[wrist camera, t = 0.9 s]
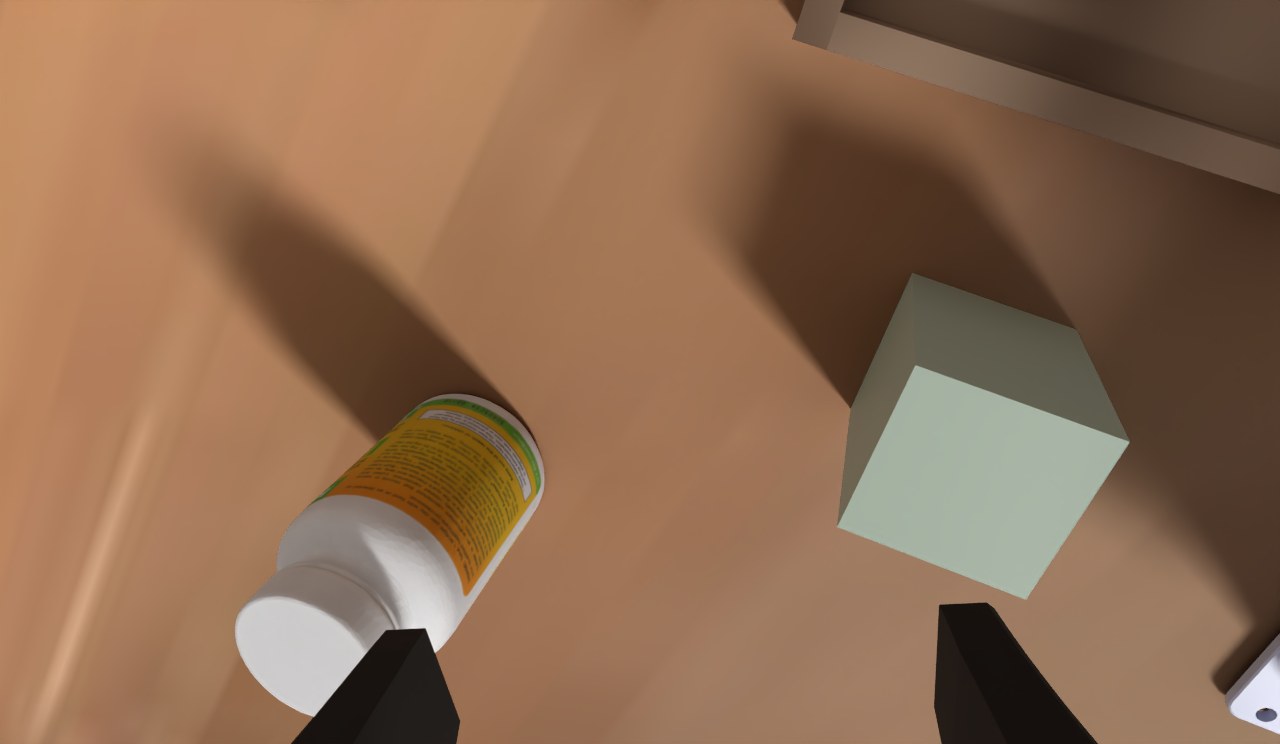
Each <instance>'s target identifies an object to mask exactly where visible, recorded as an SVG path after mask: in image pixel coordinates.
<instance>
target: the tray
mask: <svg viewBox="0 0 1280 744" xmlns="http://www.w3.org/2000/svg"><path fill="white" fill-rule="evenodd" d="M792 39H793V40H797V41H800V42H803V43H806V44H809V45H812V46H815V47H819V48H822V49H825V50H828V51H831V52H834V53H837V54H841V55H844V56H847V57H850V58H853V59H856V60H859V61H863V62H866V63H869V64H872V65H875V66H878V67H881V68H885V69H888V70H891V71H894V72H897V73H900V74H903V75H907V76H910V77H913V78H916V79H919V80H922V81H925V82H929V83H932V84H935V85H938V86H941V87H944V88H947V89H951V90H954V91H957V92H960V93H963V94H966V95H969V96H972V97H976V98H979V99H982V100H985V101H988V102H991V103H994V104H998V105H1001V106H1004V107H1007V108H1010V109H1013V110H1016V111H1020V112H1023V113H1026V114H1029V115H1032V116H1035V117H1038V118H1042V119H1045V120H1048V121H1051V122H1054V123H1057V124H1060V125H1064V126H1067V127H1070V128H1073V129H1076V130H1079V131H1082V132H1086V133H1089V134H1092V135H1095V136H1098V137H1101V138H1104V139H1108V140H1111V141H1114V142H1117V143H1120V144H1123V145H1126V146H1130V147H1133V148H1136V149H1139V150H1142V151H1145V152H1148V153H1152V154H1155V155H1158V156H1161V157H1164V158H1167V159H1170V160H1174V161H1177V162H1180V163H1183V164H1186V165H1189V166H1192V167H1195V168H1199V169H1202V170H1205V171H1208V172H1211V173H1214V174H1217V175H1221V176H1224V177H1227V178H1230V179H1233V180H1236V181H1239V182H1243V183H1246V184H1249V185H1252V186H1255V187H1258V188H1261V189H1265V190H1268V191H1271V192H1274V193H1277V194H1280V0H805V2H804V5H803V8H802V11H801V14H800V17H799V20H798V23H797V26H796V29H795V32H794V35H793V38H792Z"/></svg>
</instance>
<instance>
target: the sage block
mask: <svg viewBox="0 0 1280 744" xmlns="http://www.w3.org/2000/svg"><path fill="white" fill-rule="evenodd" d="M1129 443H1130V441H1129V439H1128V437H1127V435H1126V433H1125V430H1124V428H1123V426H1122V424H1121V422H1120V420H1119V418H1118V416H1117V414H1116V411H1115V409H1114V407H1113V405H1112V403H1111V401H1110V399H1109V397H1108V395H1107V393H1106V390H1105V388H1104V386H1103V384H1102V382H1101V380H1100V378H1099V376H1098V374H1097V372H1096V369H1095V367H1094V365H1093V363H1092V361H1091V359H1090V357H1089V355H1088V353H1087V351H1086V348H1085V346H1084V344H1083V342H1082V340H1081V338H1080V336H1079V334H1078V332H1077V330H1076V329H1074V328H1071V327H1068V326H1065V325H1062V324H1059V323H1056V322H1053V321H1050V320H1048V319H1045V318H1042V317H1039V316H1036V315H1033V314H1030V313H1027V312H1024V311H1021V310H1019V309H1016V308H1013V307H1010V306H1007V305H1004V304H1001V303H998V302H995V301H993V300H990V299H987V298H984V297H981V296H978V295H975V294H972V293H969V292H967V291H964V290H961V289H958V288H955V287H952V286H949V285H946V284H943V283H940V282H938V281H935V280H932V279H929V278H926V277H923V276H920V275H917V274H914V273H912V274H911V277H910V279H909V281H908V283H907V285H906V288H905V290H904V292H903V294H902V296H901V299H900V301H899V303H898V305H897V307H896V310H895V312H894V314H893V316H892V318H891V321H890V323H889V325H888V327H887V329H886V332H885V334H884V336H883V338H882V341H881V343H880V345H879V347H878V349H877V352H876V354H875V356H874V358H873V360H872V363H871V365H870V367H869V369H868V371H867V374H866V376H865V378H864V380H863V382H862V385H861V387H860V389H859V391H858V393H857V396H856V398H855V400H854V402H853V404H852V407H851V410H850V419H849V427H848V436H847V445H846V454H845V463H844V471H843V480H842V489H841V498H840V507H839V516H838V524H837V527H839V528H841V529H844V530H846V531H849V532H852V533H854V534H857V535H859V536H862V537H865V538H867V539H870V540H872V541H875V542H877V543H880V544H883V545H885V546H888V547H890V548H893V549H896V550H898V551H901V552H903V553H906V554H909V555H911V556H914V557H916V558H919V559H922V560H924V561H927V562H929V563H932V564H935V565H937V566H940V567H942V568H945V569H948V570H950V571H953V572H955V573H958V574H960V575H963V576H966V577H968V578H971V579H973V580H976V581H979V582H981V583H984V584H986V585H989V586H992V587H994V588H997V589H999V590H1002V591H1005V592H1007V593H1010V594H1012V595H1015V596H1018V597H1020V598H1023V599H1025V600H1026V599H1027V597H1028V596H1029V594H1030V593H1031V591H1032V590H1033V588H1034V587H1035V585H1036V584H1037V582H1038V581H1039V579H1040V577H1041V576H1042V574H1043V573H1044V571H1045V570H1046V568H1047V567H1048V565H1049V564H1050V562H1051V561H1052V559H1053V558H1054V556H1055V555H1056V553H1057V552H1058V550H1059V549H1060V547H1061V546H1062V544H1063V543H1064V541H1065V540H1066V538H1067V537H1068V535H1069V534H1070V532H1071V531H1072V529H1073V528H1074V526H1075V525H1076V523H1077V521H1078V520H1079V518H1080V517H1081V515H1082V514H1083V512H1084V511H1085V509H1086V508H1087V506H1088V505H1089V503H1090V502H1091V500H1092V499H1093V497H1094V496H1095V494H1096V493H1097V491H1098V490H1099V488H1100V487H1101V485H1102V484H1103V482H1104V481H1105V479H1106V478H1107V476H1108V475H1109V473H1110V472H1111V470H1112V469H1113V467H1114V465H1115V464H1116V462H1117V461H1118V459H1119V458H1120V456H1121V455H1122V453H1123V452H1124V450H1125V449H1126V447H1127V446H1128V444H1129Z"/></svg>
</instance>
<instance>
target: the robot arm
mask: <svg viewBox="0 0 1280 744" xmlns="http://www.w3.org/2000/svg"><path fill="white" fill-rule="evenodd" d="M1225 703H1226V705H1227V707H1228V710H1229V711H1230V712H1231V714H1232V715H1234V716H1235V717H1237V718H1239V719H1242V720H1244V721H1247V722H1250V723H1252V724H1255V725H1257V726H1260V727H1262V728H1265V729H1267V730H1270V731H1273V732H1275V733H1278V734H1280V634H1279V635H1278V636H1277V637H1276V638H1275V639H1274V640H1273V641H1272V643H1271V644H1270V645H1269V646H1268V647H1267V648H1266V649H1265V650H1264V652H1263V653H1262V654H1261V655H1260V656H1259V657H1258V658H1257V659H1256V661H1255V662H1254V663H1253V664H1252V665H1251V666H1250V667H1249V668H1248V670H1247V671H1246V672H1245V673H1244V674H1243V675H1242V676H1241V677H1240V679H1239V680H1238V681H1237V682H1236V683H1235V684H1234V685H1233V686H1232V688H1231V689H1230V690H1229V691H1228V692H1227V694H1226V696H1225ZM934 708H935V713H936V718H937V723H938V728H939V733H940V738H941V742H942V744H1098V743H1097V742H1096V741H1095V740H1094V739H1093V737H1092V736H1091V735H1090V734H1089V733H1088V731H1087V730H1086V729H1085V728H1084V727H1083V725H1082V724H1081V723H1080V722H1079V721H1078V719H1077V718H1076V717H1075V716H1074V715H1073V713H1072V712H1071V711H1070V710H1069V709H1068V707H1067V706H1066V705H1065V704H1064V702H1063V701H1062V700H1061V699H1060V697H1059V696H1058V695H1057V694H1056V692H1055V691H1054V690H1053V689H1052V687H1051V686H1050V685H1049V683H1048V682H1047V681H1046V679H1045V678H1044V677H1043V675H1042V674H1041V673H1040V672H1039V670H1038V669H1037V668H1036V666H1035V665H1034V664H1033V662H1032V661H1031V660H1030V658H1029V657H1028V656H1027V654H1026V653H1025V652H1024V650H1023V649H1022V647H1021V646H1020V645H1019V643H1018V642H1017V641H1016V639H1015V638H1014V636H1013V635H1012V633H1011V632H1010V631H1009V629H1008V628H1007V626H1006V625H1005V623H1004V622H1003V621H1002V619H1001V618H1000V616H999V615H998V613H997V612H996V610H995V609H994V608H993V607H992V606H990V605H989V604H988V603H967V604H945V605H939V619H938V640H937V660H936V680H935V700H934ZM1263 708H1270V709H1269V710H1267V711H1258V710H1260V709H1263ZM459 725H460V719H459V717H458V714H457V711H456V709H455V706H454V703H453V701H452V698H451V695H450V692H449V690H448V687H447V684H446V682H445V679H444V676H443V674H442V671H441V668H440V666H439V663H438V660H437V657H436V655H435V652H434V649H433V647H432V644H431V641H430V639H429V636H428V633H427V631H426V628H419V629H397V630H386V631H385V632H384V633H383V634H382V635H381V636H380V638H379V639H378V640H377V641H376V642H375V643H374V645H373V646H372V647H371V648H370V649H369V650H368V652H367V653H366V654H365V655H364V657H363V658H362V659H361V660H360V661H359V663H358V664H357V665H356V666H355V668H354V669H353V670H352V671H351V672H350V674H349V675H348V676H347V677H346V679H345V680H344V681H343V682H342V683H341V685H340V686H339V687H338V688H337V690H336V691H335V692H334V693H333V694H332V696H331V697H330V698H329V699H328V700H327V702H326V703H325V704H324V705H323V706H322V708H321V709H320V710H319V711H318V713H317V714H316V715H315V716H314V717H313V718H312V720H311V721H310V722H309V723H308V724H307V726H306V727H305V728H304V729H303V730H302V731H301V733H300V734H299V735H298V736H297V737H296V738H295V740H294V741H293V742H292V743H291V744H456V742H457V736H458V730H459Z"/></svg>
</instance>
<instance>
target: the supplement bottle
mask: <svg viewBox="0 0 1280 744" xmlns="http://www.w3.org/2000/svg"><path fill="white" fill-rule="evenodd" d="M543 490H544V467H543V462H542V459H541V455H540V453H539V450H538V448H537V446H536V444H535V442H534V440H533V438H532V437H531V435H530V434H529V432H528V431H527V430H526V428H525V427H524V426H523V425H522V424H521V423H520V422H519V421H518V420H517V419H516V418H515V417H514V416H513V415H511V414H510V413H509V412H508V411H506V410H505V409H503V408H502V407H500V406H498V405H496V404H494V403H492V402H490V401H488V400H485V399H483V398H479V397H476V396H472V395H467V394H444V395H439V396H436V397H433V398H431V399H428V400H426V401H424V402H423V403H421V404H420V405H418V406H417V407H416V408H414V409H413V410H412V411H411V412H409V413H408V414H407V415H406V416H405V417H404V418H403V419H402V420H401V421H400V422H399V423H398V424H397V425H396V426H395V427H393V428H392V429H391V430H390V431H389V432H388V433H387V434H386V435H385V436H384V437H383V438H382V439H380V440H379V441H378V442H377V443H376V444H375V445H374V446H373V447H372V448H371V449H370V450H369V451H368V452H367V453H366V454H365V455H363V456H362V457H361V458H360V459H359V460H358V461H357V462H356V463H355V464H354V465H353V466H352V467H350V468H349V469H348V470H347V471H346V472H345V473H344V474H343V475H342V476H341V477H340V478H339V479H337V480H336V481H335V482H334V483H333V484H332V485H331V486H330V487H329V488H328V489H326V490H325V491H324V492H323V493H322V494H321V495H320V496H319V497H318V498H317V499H316V500H314V501H313V502H312V503H311V504H310V505H309V506H308V507H307V508H306V509H305V510H304V511H303V512H302V513H301V514H300V515H299V516H298V517H297V518H296V519H295V520H294V521H293V522H292V523H291V524H290V526H289V527H288V529H287V530H286V532H285V534H284V536H283V538H282V540H281V543H280V546H279V549H278V554H277V573H276V574H275V575H273V576H272V577H271V578H270V579H269V580H268V581H267V582H266V583H265V584H264V585H263V586H262V587H261V588H260V589H259V590H258V591H257V592H256V593H255V594H254V595H253V596H252V597H251V598H250V599H249V600H248V601H247V602H246V603H245V605H244V606H243V607H242V609H241V610H240V612H239V614H238V616H237V619H236V625H235V637H236V643H237V646H238V649H239V652H240V655H241V656H242V658H243V660H244V662H245V664H246V666H247V667H248V669H249V670H250V672H251V673H252V674H253V676H254V677H255V678H256V679H257V680H258V682H259V683H260V684H261V685H262V686H263V687H264V688H265V689H266V690H268V691H269V692H270V693H271V694H272V695H273V696H275V697H276V698H277V699H279V700H280V701H282V702H283V703H285V704H286V705H288V706H290V707H292V708H293V709H295V710H297V711H300V712H302V713H305V714H307V715H310V716H313V717H314V716H315V715H316V714H317V713H318V711H319V710H320V709H321V708H322V706H323V705H324V704H325V703H326V702H327V700H328V699H329V698H330V697H331V696H332V694H333V693H334V692H335V691H336V690H337V688H338V687H339V686H340V685H341V683H342V682H343V681H344V680H345V679H346V677H347V676H348V675H349V674H350V672H351V671H352V670H353V669H354V668H355V666H356V665H357V664H358V663H359V661H360V660H361V659H362V658H363V657H364V655H365V654H366V653H367V652H368V650H369V649H370V648H371V647H372V646H373V645H374V643H375V642H376V641H377V640H378V639H379V638H380V636H381V635H382V634H383V633H384V632H385V631H386V630H397V629H419V628H426V631H427V633H428V636H429V639H430V641H431V644H432V647H433V649H434V652H435V653H436V652H437V651H438V650H439V649H440V648H441V647H442V646H443V645H444V644H445V643H446V641H447V640H448V639H449V638H450V636H451V635H452V634H453V633H454V631H455V630H456V629H457V627H458V626H459V624H460V623H461V621H462V620H463V618H464V617H465V615H466V614H467V612H468V611H469V609H470V608H471V606H472V605H473V603H474V602H475V600H476V599H477V597H478V596H479V594H480V593H481V591H482V590H483V588H484V587H485V585H486V584H487V582H488V581H489V579H490V578H491V576H492V575H493V573H494V572H495V570H496V569H497V567H498V566H499V564H500V563H501V561H502V560H503V558H504V557H505V555H506V554H507V553H508V551H509V550H510V548H511V546H512V545H513V544H514V542H515V541H516V539H517V538H518V536H519V535H520V533H521V532H522V530H523V529H524V527H525V526H526V524H527V523H528V521H529V520H530V518H531V517H532V515H533V513H534V511H535V510H536V508H537V506H538V504H539V502H540V500H541V497H542V494H543Z"/></svg>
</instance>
